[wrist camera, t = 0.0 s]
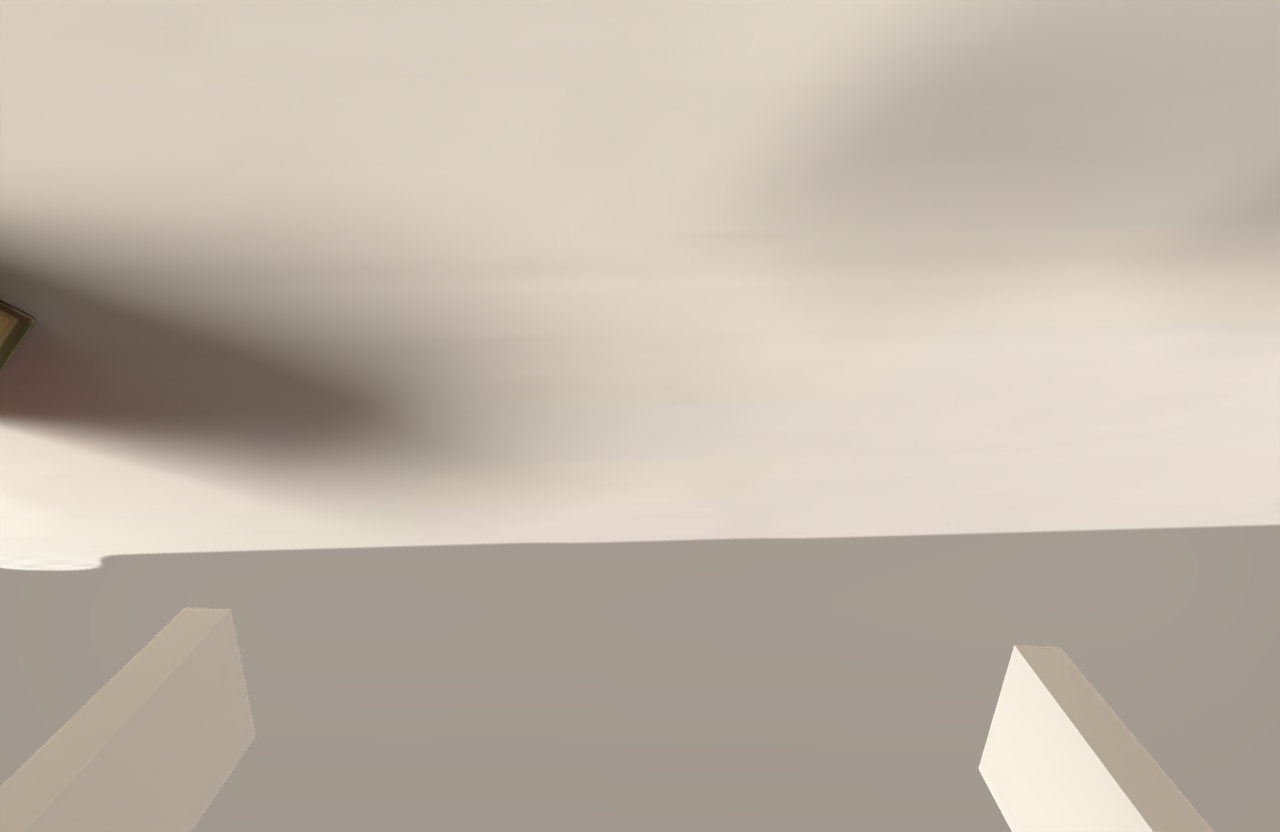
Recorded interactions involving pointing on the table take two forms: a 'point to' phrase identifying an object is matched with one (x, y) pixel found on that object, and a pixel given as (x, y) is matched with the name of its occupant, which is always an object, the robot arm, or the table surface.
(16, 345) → the food packaging
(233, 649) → the robot arm
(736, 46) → the table surface
